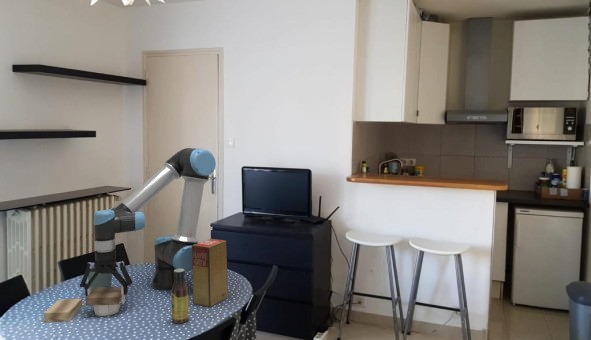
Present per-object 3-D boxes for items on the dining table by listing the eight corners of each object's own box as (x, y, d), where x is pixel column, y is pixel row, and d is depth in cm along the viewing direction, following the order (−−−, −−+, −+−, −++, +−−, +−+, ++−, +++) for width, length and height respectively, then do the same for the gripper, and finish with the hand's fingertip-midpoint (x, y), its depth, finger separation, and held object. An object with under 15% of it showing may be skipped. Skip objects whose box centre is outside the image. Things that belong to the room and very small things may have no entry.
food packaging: (211, 293, 202) (210, 238, 200) (228, 297, 198) (228, 240, 195) (191, 303, 190) (190, 244, 188) (210, 307, 186) (209, 247, 184)
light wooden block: (82, 307, 186) (81, 298, 186) (69, 321, 172) (68, 312, 172) (59, 307, 185) (58, 299, 185) (44, 322, 171) (43, 313, 171)
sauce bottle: (173, 317, 176) (172, 267, 174) (189, 317, 176) (189, 266, 175) (170, 324, 169) (169, 272, 168) (187, 324, 170) (186, 272, 168)
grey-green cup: (84, 295, 199) (83, 268, 198) (107, 289, 206) (106, 263, 205) (94, 301, 192) (93, 273, 191) (117, 295, 199) (116, 268, 198)
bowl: (121, 306, 186) (121, 294, 186) (115, 315, 177) (115, 303, 177) (99, 307, 185) (98, 295, 185) (91, 316, 176) (91, 304, 176)
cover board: (126, 293, 187) (126, 286, 187) (118, 304, 176) (118, 296, 175) (95, 294, 186) (95, 287, 186) (85, 305, 174) (85, 298, 174)
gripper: (139, 246, 184) (140, 298, 186) (76, 248, 181) (78, 300, 183) (134, 251, 177) (136, 305, 179) (69, 253, 174) (71, 308, 176)
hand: (106, 303), depth 181 cm, fingers closed on cover board, 12 cm apart
